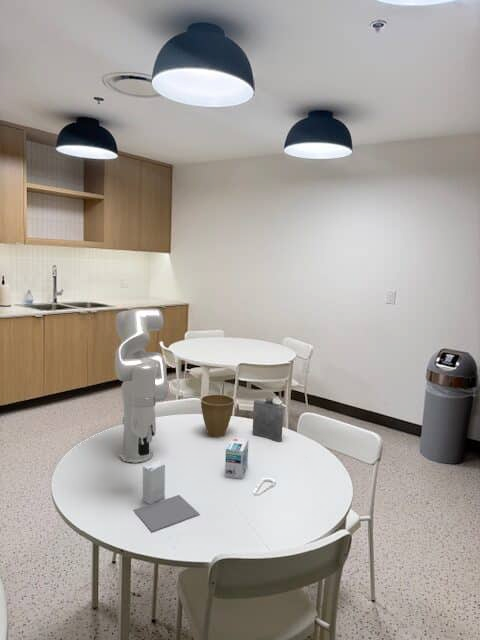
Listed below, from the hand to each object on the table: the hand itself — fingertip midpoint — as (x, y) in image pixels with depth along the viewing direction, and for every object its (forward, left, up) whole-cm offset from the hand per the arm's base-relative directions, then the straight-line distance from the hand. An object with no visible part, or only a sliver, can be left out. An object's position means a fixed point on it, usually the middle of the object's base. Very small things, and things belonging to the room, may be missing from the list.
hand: (143, 454), depth 150 cm
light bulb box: (+6, +34, -13) cm, 37 cm away
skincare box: (+7, 0, -13) cm, 15 cm away
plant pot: (-27, +47, -13) cm, 56 cm away
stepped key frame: (+21, +36, -14) cm, 44 cm away
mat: (+16, 0, -13) cm, 21 cm away
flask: (-12, +64, -13) cm, 67 cm away
